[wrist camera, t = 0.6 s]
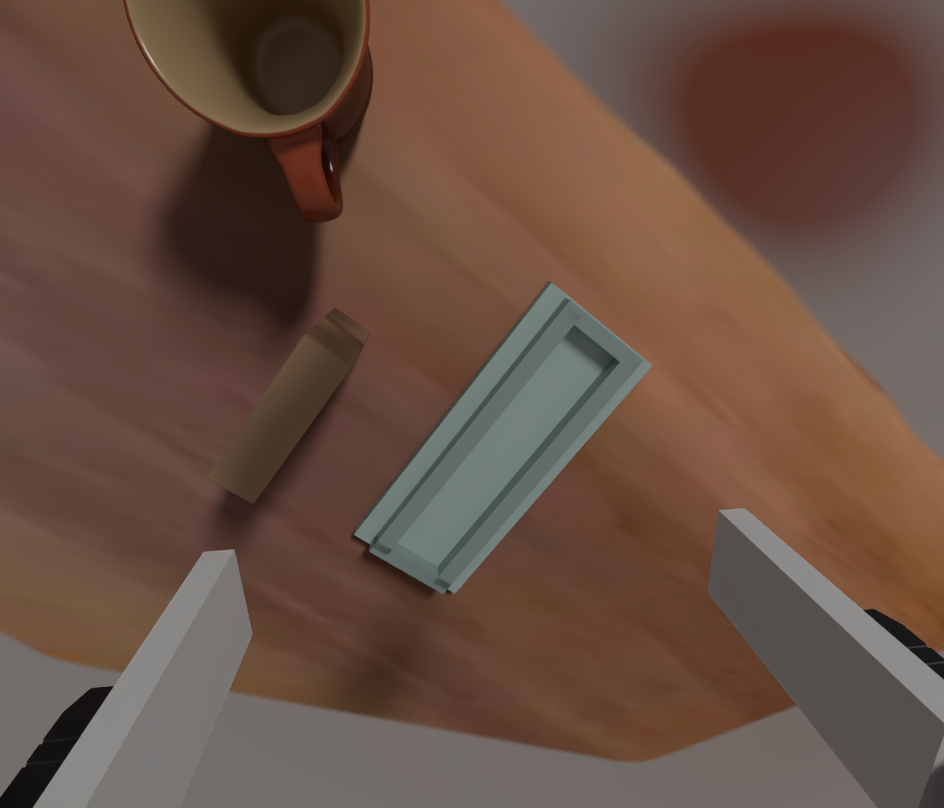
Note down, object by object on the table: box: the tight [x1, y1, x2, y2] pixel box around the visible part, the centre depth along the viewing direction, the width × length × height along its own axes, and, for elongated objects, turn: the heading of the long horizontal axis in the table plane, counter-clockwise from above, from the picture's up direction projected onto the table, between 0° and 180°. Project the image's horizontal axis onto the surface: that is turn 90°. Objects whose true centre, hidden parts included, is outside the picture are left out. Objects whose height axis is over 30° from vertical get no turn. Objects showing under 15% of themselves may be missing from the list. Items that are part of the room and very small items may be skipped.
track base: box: [354, 281, 652, 594], centre depth 35 cm, size 9×22×2 cm, turn 142°
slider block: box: [207, 308, 370, 504], centre depth 29 cm, size 3×9×9 cm, turn 142°
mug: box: [123, 0, 373, 223], centre depth 24 cm, size 12×9×10 cm
